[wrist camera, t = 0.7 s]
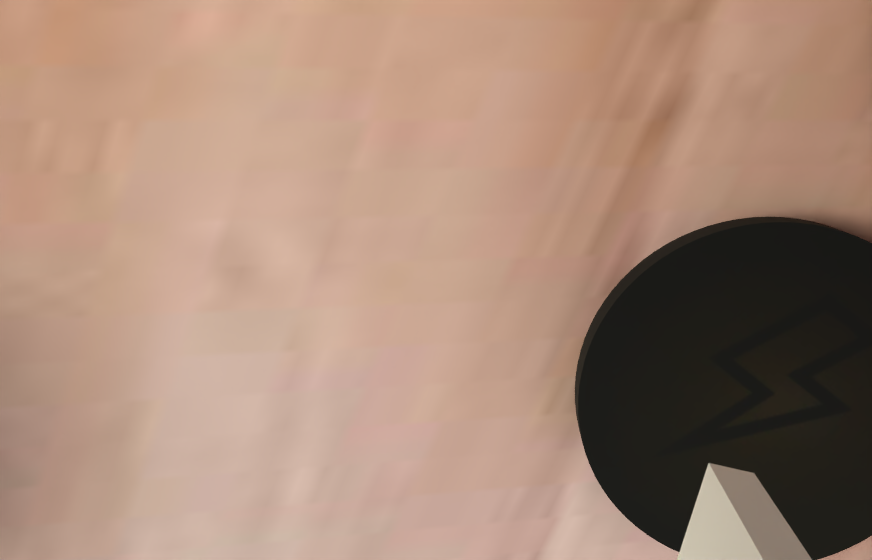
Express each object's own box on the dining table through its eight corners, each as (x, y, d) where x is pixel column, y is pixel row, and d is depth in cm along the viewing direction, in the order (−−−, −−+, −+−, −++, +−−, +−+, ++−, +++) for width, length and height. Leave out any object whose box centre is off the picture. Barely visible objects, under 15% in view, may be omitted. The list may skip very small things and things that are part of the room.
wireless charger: (514, 454, 40) (515, 471, 38) (686, 152, 36) (697, 154, 34) (808, 598, 40) (823, 623, 38) (1013, 317, 36) (1042, 329, 34)
